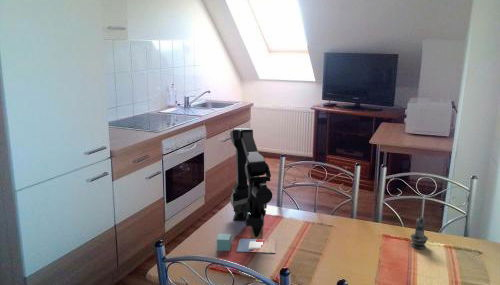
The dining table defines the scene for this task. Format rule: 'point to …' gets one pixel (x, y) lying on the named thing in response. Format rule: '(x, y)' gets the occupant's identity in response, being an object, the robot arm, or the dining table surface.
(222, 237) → the teal cube
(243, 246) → the blueprint mat
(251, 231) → the walnut cube
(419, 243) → the dark grey flanged nozzle
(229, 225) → the dining table surface
